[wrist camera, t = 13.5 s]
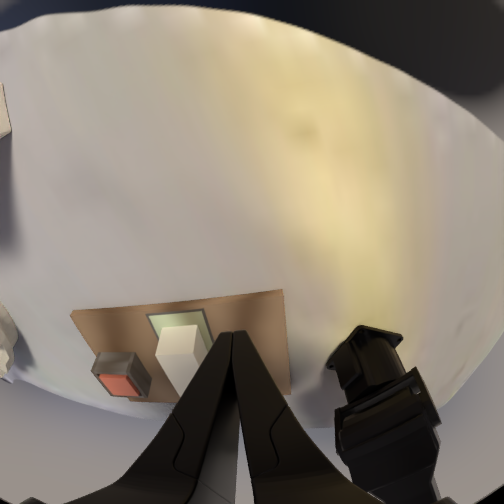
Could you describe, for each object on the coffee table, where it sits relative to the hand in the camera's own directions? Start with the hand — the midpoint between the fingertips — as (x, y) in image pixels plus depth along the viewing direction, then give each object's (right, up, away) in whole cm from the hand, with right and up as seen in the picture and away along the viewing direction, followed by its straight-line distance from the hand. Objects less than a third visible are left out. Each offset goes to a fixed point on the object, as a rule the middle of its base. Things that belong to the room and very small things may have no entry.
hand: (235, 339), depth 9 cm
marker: (-5, -8, +18) cm, 20 cm away
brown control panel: (-6, -8, +18) cm, 21 cm away
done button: (-13, -10, +18) cm, 24 cm away
